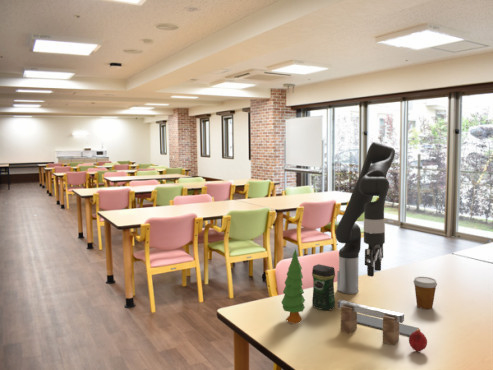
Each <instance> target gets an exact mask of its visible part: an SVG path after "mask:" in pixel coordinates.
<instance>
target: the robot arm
mask: <svg viewBox="0 0 493 370" xmlns="http://www.w3.org/2000/svg"><path fill="white" fill-rule="evenodd" d="M395 156H396V150H395V149H394V148H393V147H392V146H389V145H386V144H383V143H380V142H376V141H373V142H372V143H371V144H370V145H369V148H368V150H367V152H366V155H365V158H364V162H363V165H362V168H361V170H360V174H359V176H358V178H357V181H356V183H355V185H354V188H353V190H352V192H351V196H350V199H349V201H348V204H347V206H346V207H345V210H344V212H343V215H342V217H341V219H340V221H339V222H338V224H337V226H336V229H335V232H334V233H335V240H336V241H337V242H338V243H340V244H343V246H342V247H341V248H340V249H339V250H338V271H337V273H336V276H337V277H336V279H337V280H336V281H337V282H336V284H337V285H336V290H337V292H340V293H343V294H348V295H352V294H354V295H355V294H357V293H358V292H359V259H360V258H359V257H360V256H359V254H360V251H361V247H362V246H361V245H362V242H361V241H362V230H361V228H360V226H359V225H358V224H357V223H356V222H357V220H358V219H359V218H360V217H361V216H363V214H364V220H363V243H364V244H367V245H368V247H367V248H365V249H364V265H365V266H366V268H367V269H366V272H367V273H366V274H367V277H374V275H375V271H378V272H380V271H382V259H383V258H384V244H386V237H385V236H386V226H385V225H386V224H385V203H386V199H387V196H388V193H389V190H390V182H389V180H388V178H387V175H388V171H389V170H390V168H391V167H392V164H393V162H394V159H395ZM374 197H378V198H377V200H375V201H372V200H373V198H374Z"/></svg>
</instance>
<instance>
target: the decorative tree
mask: <svg viewBox="0 0 493 370" xmlns="http://www.w3.org/2000/svg"><path fill="white" fill-rule="evenodd" d="M294 249H295V250H294V252H293V255H292V256H291V257H292V258H291V260H290V264H289V266H288V271H287V272H286V275H287V276H286V278H285V281H284V285H285V287H284V289H283V291H282V293H283V298H282V300H281V304H282V309H283V311H285V312H288V313H289V315H288V316H287V318H286V321H287V320H288V322H292V323H291V324H293V323H294V324H300V323H301V322H302V321H303V318H302V317H301V315H300V313H301V312H304V310H305V308H306V307H305V305H304V303H305V301H306V300H305V298H304V296H303V295H304V294H305V292H304V289H303V287H302V286H304V284H303V281H302V279H303V277H304V276H303V272H302V269H303V268H302V265H301V264H300V261H299V258H298V254H297V250H296V248H294ZM301 320H302V321H301ZM300 321H301V322H300ZM288 322H287V323H288ZM299 322H300V323H299Z"/></svg>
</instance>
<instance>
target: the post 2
mask: <svg viewBox="0 0 493 370" xmlns="http://www.w3.org/2000/svg"><path fill="white" fill-rule="evenodd" d="M382 319H383V330H382V343H384V344H387V345H388V344H389V345H392V346H395V345H396V343H397V342H398V341H399V339H400V334H399V323H400V322H396V318H395V317H391V316H386V315H384V316H383V318H382Z"/></svg>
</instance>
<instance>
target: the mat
mask: <svg viewBox="0 0 493 370" xmlns="http://www.w3.org/2000/svg"><path fill="white" fill-rule="evenodd" d="M358 324H359V325H363V326H366V327H370V328H374V329H379V330H382V331H383V318H378V317H374V316H370V315H366V314H361V313H357V325H358ZM417 329H420V327H416V326H412V325H408V324H403V323H400V322H399V335H401V336H406V337H410V335H411V334H412V333H413V332H415V331H416V330H417Z"/></svg>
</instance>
